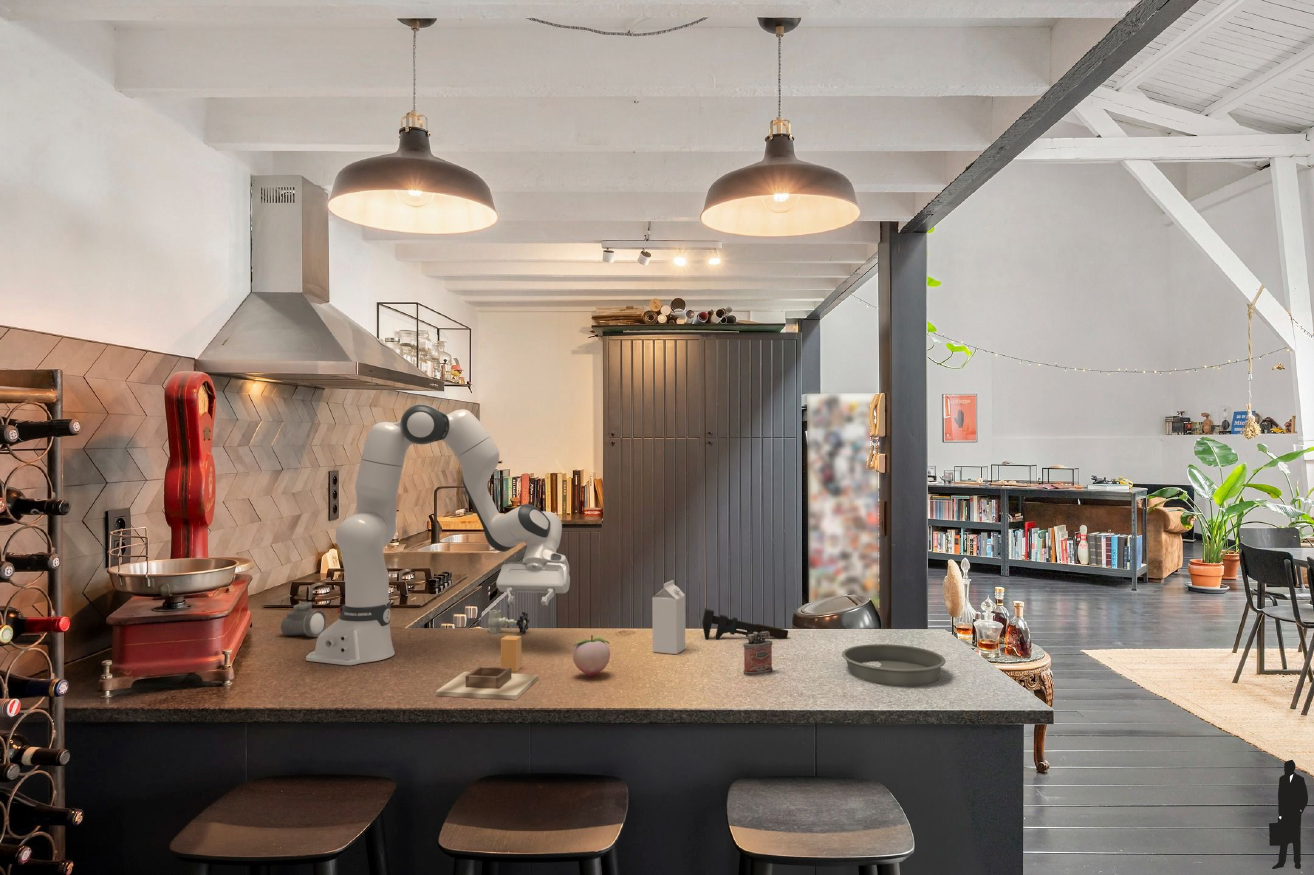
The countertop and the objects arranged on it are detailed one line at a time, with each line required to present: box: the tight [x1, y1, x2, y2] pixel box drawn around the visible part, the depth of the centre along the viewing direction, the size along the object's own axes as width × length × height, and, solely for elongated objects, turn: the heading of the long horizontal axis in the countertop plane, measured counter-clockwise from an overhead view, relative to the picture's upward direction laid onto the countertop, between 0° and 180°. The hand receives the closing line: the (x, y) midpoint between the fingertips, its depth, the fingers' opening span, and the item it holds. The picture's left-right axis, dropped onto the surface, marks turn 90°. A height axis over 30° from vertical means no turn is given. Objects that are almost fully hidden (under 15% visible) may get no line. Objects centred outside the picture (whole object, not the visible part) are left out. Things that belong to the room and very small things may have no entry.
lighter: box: [742, 631, 774, 677], centre depth 190 cm, size 8×3×10 cm, turn 117°
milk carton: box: [651, 579, 686, 655], centre depth 212 cm, size 7×7×19 cm
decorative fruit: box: [572, 634, 611, 677], centre depth 187 cm, size 9×8×10 cm
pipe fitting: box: [280, 601, 328, 638], centre depth 231 cm, size 12×8×10 cm
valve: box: [487, 609, 530, 635], centre depth 234 cm, size 7×7×12 cm
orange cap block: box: [500, 635, 522, 673], centre depth 194 cm, size 4×4×8 cm
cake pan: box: [841, 643, 946, 687], centre depth 190 cm, size 25×25×4 cm
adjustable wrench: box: [701, 608, 789, 641], centre depth 225 cm, size 8×3×25 cm
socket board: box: [435, 666, 540, 701], centre depth 179 cm, size 19×16×4 cm
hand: (527, 603), depth 206 cm, fingers open, 8 cm apart
